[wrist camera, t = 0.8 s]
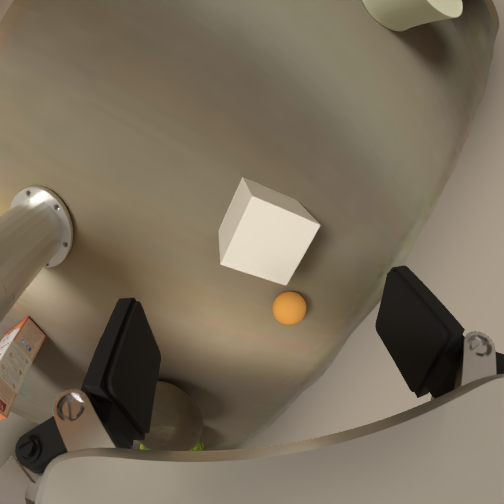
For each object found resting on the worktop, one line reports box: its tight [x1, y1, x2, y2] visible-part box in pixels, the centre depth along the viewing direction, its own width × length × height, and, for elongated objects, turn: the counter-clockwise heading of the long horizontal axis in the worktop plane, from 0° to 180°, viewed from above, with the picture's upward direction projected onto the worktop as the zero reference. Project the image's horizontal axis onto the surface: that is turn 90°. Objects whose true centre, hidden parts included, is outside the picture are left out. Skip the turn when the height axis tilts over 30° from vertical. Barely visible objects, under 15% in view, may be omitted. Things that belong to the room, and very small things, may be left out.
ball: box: [272, 291, 306, 325], centre depth 40 cm, size 5×5×5 cm
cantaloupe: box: [138, 381, 203, 451], centre depth 43 cm, size 14×14×15 cm
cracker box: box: [0, 316, 46, 420], centre depth 30 cm, size 14×6×21 cm, turn 117°
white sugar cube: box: [218, 177, 320, 285], centre depth 32 cm, size 8×8×9 cm
